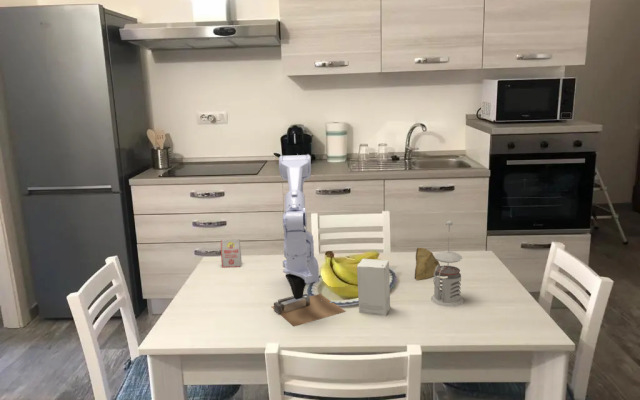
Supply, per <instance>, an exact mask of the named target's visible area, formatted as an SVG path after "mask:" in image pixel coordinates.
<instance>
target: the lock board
mask: <svg viewBox="0 0 640 400" xmlns="http://www.w3.org/2000/svg"><path fill="white" fill-rule="evenodd" d="M291 299H295V298H294V296H287V297H285V298H280V299H277V301H275V302H273V305H272V306H271V309H273V311H274V312H275V313H276V314H277V315H280V316H281V317H282V319H284V320H285V321H286V322H288V323H289V324H290V325H291V326H292V327H298V326H301V325H304V324H307V323H311V322H315V321H318V320H322V319H325V318H329V317H331V316H332V317H333V316H335V315H339V314H342V313H346V312H347V311H346V310H345V309H343V308H341V306H339V305H337V304H336V303H334V302H333V301H331V300H330V299H329V298H327V297H326V296H324V295H323V294H321V293H318V294H314V295H310V305H309V306H304V307H301V308H298V309H295V310H291V311H288V312H285V313H284V312H283V311H282V309H281V302H284V301H288V300H291ZM321 300H322V301H321ZM330 302H333V303H330Z"/></svg>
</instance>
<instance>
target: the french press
mask: <svg viewBox="0 0 640 400" xmlns="http://www.w3.org/2000/svg"><path fill="white" fill-rule="evenodd" d="M445 225H446V226H448V231H450V228H451V227H450V226H452V225H453V221H451V220H447V221H446V222H445ZM447 239H448V242H447V245H448V247H447V250H445V251H444V250H443V251H440V252H438V253H436V254H435V255H434V257H435V259H436V260H437V261H438V262H439V263H446V264H447V265H440V266H439V267H438V265H437V267H436V269H435V272H434V276H433V277H434V281H433V285H434V288H433V289H434V291H433V292H434V293H433V295H432V296H431V297H430V300H431V301H432V303H434V304H436V305H438V306H442V307H456V306H457V307H458V306H460V305H462V304H464V298H463V297H462V295H461V293H462V292H461V290H462V289H461V285H462V284H461V282H462V274H461V273H460V272H461V269H460V268H459V267H457V266H453V265H448V264H452V263H459V262H461V260H462V259H463V256H462V255H460V253H457V252H454V251H451V250H450V238H447ZM441 277H445V278H441Z"/></svg>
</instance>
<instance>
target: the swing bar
mask: <svg viewBox="0 0 640 400" xmlns="http://www.w3.org/2000/svg"><path fill="white" fill-rule="evenodd" d="M310 296H311V295H310V294H307V293H303V297H302V298H300V299H291V300H288V301H284V302H281V309H282V311H283V312H284V313H285V312H288V311H291V310H295V309H298V308H301V307H304V306H309V305H310Z"/></svg>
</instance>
